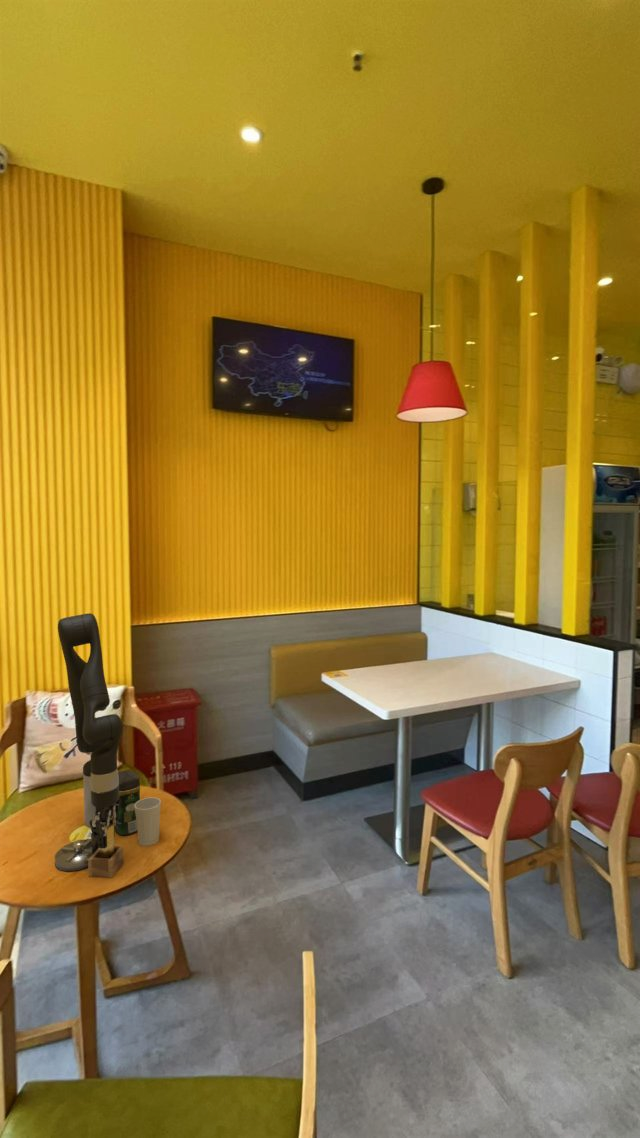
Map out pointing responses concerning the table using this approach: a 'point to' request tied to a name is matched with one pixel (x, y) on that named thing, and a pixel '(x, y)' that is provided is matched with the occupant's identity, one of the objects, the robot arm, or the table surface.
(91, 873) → the block
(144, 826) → the cup
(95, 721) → the robot arm
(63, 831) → the table surface
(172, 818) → the table surface
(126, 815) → the coffee jar
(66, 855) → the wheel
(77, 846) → the axle cap
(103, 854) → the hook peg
